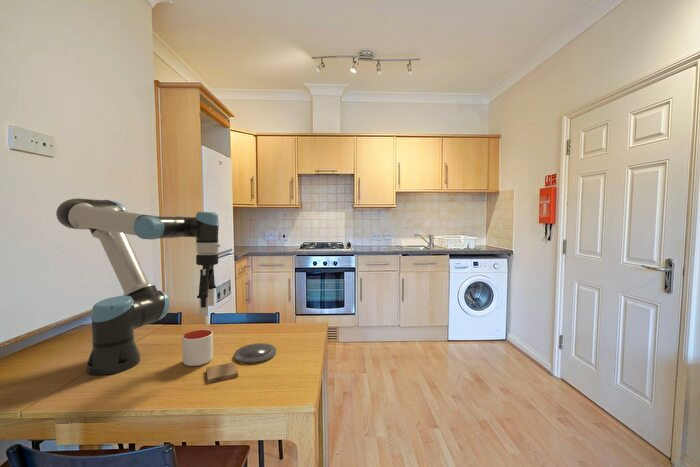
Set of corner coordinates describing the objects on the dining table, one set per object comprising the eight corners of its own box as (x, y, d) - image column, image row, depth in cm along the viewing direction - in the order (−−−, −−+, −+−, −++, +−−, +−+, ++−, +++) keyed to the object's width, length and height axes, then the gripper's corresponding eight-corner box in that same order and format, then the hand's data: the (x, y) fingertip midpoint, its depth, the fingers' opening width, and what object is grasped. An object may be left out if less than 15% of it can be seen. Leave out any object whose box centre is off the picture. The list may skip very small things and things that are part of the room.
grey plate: (232, 365, 111) (232, 360, 111) (237, 348, 125) (237, 344, 125) (275, 361, 114) (275, 356, 114) (275, 345, 129) (275, 341, 129)
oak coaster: (208, 383, 99) (207, 379, 99) (206, 371, 107) (206, 367, 107) (238, 376, 103) (238, 372, 103) (234, 365, 111) (234, 362, 111)
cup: (218, 356, 119) (218, 330, 118) (203, 368, 109) (203, 339, 108) (193, 355, 120) (192, 329, 119) (176, 367, 110) (175, 338, 109)
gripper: (213, 257, 105) (213, 320, 106) (222, 250, 129) (222, 301, 130) (188, 258, 103) (188, 321, 104) (202, 250, 127) (202, 302, 128)
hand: (207, 310), depth 117 cm, fingers open, 13 cm apart
